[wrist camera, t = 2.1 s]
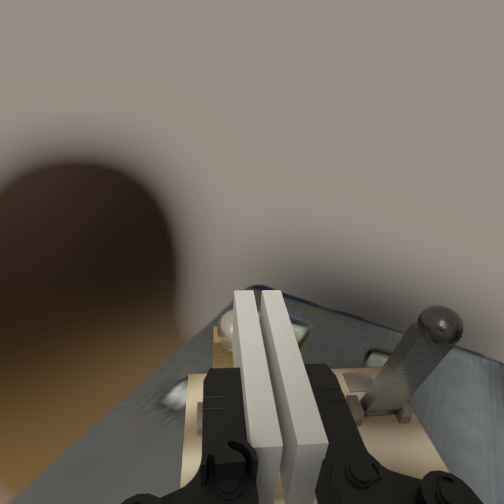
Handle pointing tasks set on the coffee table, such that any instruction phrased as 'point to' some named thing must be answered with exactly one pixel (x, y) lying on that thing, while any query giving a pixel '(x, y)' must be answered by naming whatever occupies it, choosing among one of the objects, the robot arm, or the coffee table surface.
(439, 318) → the lever slate
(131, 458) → the coffee table surface
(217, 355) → the lever brass
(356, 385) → the console
